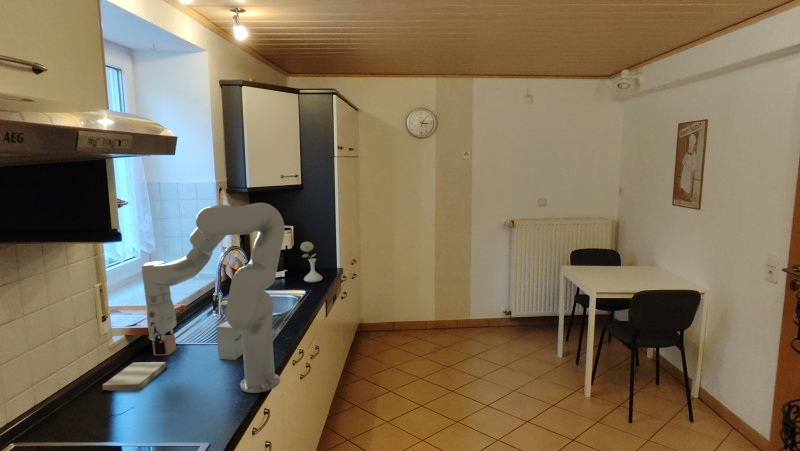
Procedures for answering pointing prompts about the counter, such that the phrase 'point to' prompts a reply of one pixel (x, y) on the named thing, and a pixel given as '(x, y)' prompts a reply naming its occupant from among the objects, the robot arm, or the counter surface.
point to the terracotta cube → (167, 344)
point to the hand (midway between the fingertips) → (165, 350)
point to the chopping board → (135, 376)
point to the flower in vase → (313, 275)
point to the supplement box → (229, 342)
